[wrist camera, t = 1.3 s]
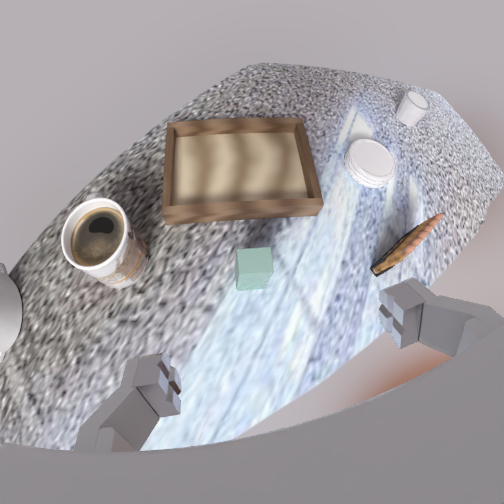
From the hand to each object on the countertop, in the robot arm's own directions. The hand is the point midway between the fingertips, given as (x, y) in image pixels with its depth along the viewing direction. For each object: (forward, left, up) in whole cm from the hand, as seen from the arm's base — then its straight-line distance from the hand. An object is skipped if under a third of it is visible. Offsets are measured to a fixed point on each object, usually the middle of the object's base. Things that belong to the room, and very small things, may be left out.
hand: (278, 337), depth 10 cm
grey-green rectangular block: (+2, +10, -33) cm, 34 cm away
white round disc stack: (+27, +30, -33) cm, 52 cm away
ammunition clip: (+27, +12, -33) cm, 44 cm away
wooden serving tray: (+2, +29, -32) cm, 43 cm away
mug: (-18, +16, -33) cm, 40 cm away
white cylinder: (+44, +46, -33) cm, 71 cm away
